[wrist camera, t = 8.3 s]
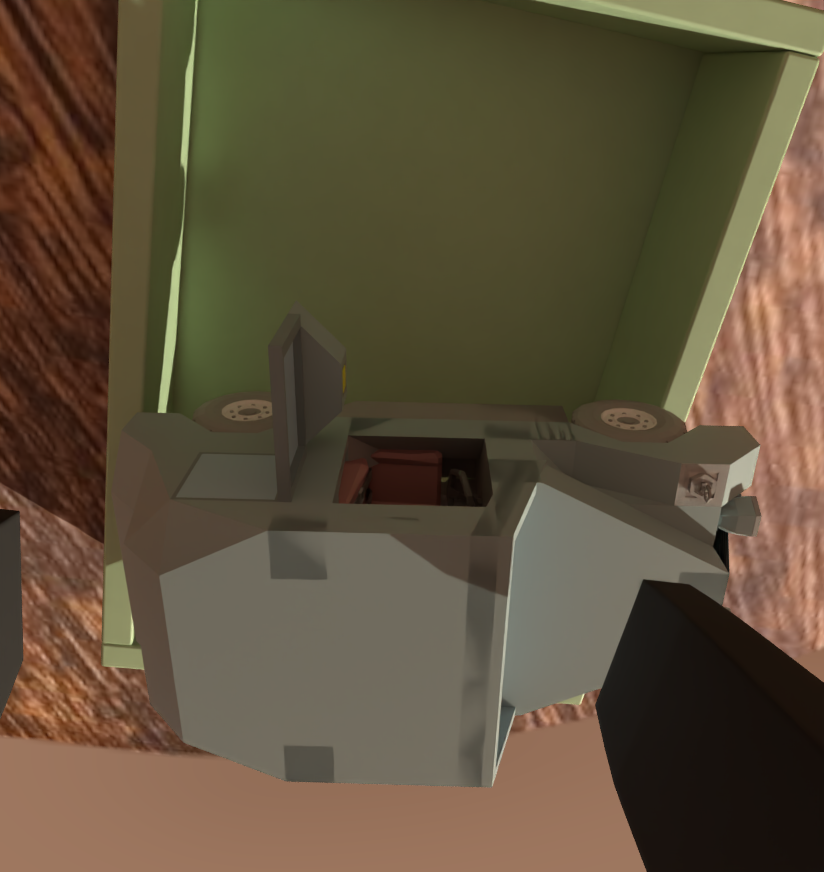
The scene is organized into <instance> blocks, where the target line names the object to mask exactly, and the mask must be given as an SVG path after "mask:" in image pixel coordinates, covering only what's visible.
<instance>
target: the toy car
mask: <svg viewBox="0 0 824 872" xmlns="http://www.w3.org/2000/svg"><path fill="white" fill-rule="evenodd" d="M268 356H269V371H270V387H271V392H263V391H253V392H238V393H233V394H228V395H223V396H220V397H217V398H215V399H212V400H210V401H207V402H205V403H203V404H202V405H201V406H200V407H198V409H196V410H195V411H194V413H193V418H192V420H191V419H189V418H187V417H185V416H184V415H182V414H180V413H146V412H137V413H136V414H135V415H134V416H133V418H132V419H131V420H130V421H129V422H128V423H127V424H126V425H125V427H124V428H123V429H122V430H121V436H120V442H119V448H118V454H117V460H116V466H115V471H114V477H113V483H112V489H111V494H112V500H113V506H114V512H115V518H116V524H117V530H118V536H119V542H120V548H121V554H122V560H123V566H124V572H125V578H126V584H127V589H128V595H129V601H130V607H131V613H132V619H133V625H134V631H135V637H136V641H137V642H138V643H139V644H140V645H141V651H142V657H143V663H144V669H145V675H146V681H147V687H148V694H149V700H150V704H151V706H152V707H153V708H154V709H155V710H156V711H157V713H158V714H159V715H160V716H161V717H162V718H163V719H164V721H165V722H166V723H167V724H168V725H169V726H170V727H171V729H172V730H173V731H174V732H175V733H176V734H177V735H178V737H179V738H180V739H181V740H182V741H183V742H184V743H187V744H189V745H192V746H194V747H197V748H200V749H202V750H205V751H208V752H210V753H213V754H215V755H218V756H221V757H223V758H226V759H229V760H231V761H234V762H237V763H239V764H242V765H244V766H247V767H250V768H252V769H255V770H257V771H260V772H263V773H265V774H268V775H271V776H273V777H276V778H278V779H281V780H284V781H291V782H325V783H360V784H392V785H393V784H394V785H427V786H429V785H430V786H461V787H492V785H493V782H494V779H495V775H496V773H497V770H498V766H499V763H500V760H501V757H502V754H503V751H504V747H505V745H506V741H507V738H508V735H509V732H510V729H511V726H512V723H513V719H514V716H515V715H522V714H525V713H528V712H531V711H534V710H537V709H540V708H543V707H546V706H549V705H552V704H555V703H558V702H561V701H564V700H567V699H570V698H573V697H576V696H579V695H582V694H585V693H588V692H591V691H594V690H597V689H600V688H602V686H603V683H604V681H605V678H606V676H607V673H608V670H609V668H610V665H611V662H612V660H613V657H614V655H615V652H616V649H617V647H618V644H619V641H620V639H621V636H622V634H623V631H624V628H625V626H626V623H627V620H628V618H629V615H630V613H631V610H632V607H633V605H634V602H635V599H636V597H637V594H638V592H639V589H640V586H641V584H642V581H643V579H646V580H655V581H664V582H673V583H682V584H690V585H691V586H693V587H695V588H696V589H698V590H699V591H701V592H703V593H704V594H706V595H707V596H709V597H710V598H712V599H713V600H714V601H716V602H717V603H719V604H720V605H722V604H723V599H724V595H725V590H726V586H727V582H728V577H729V547H728V533H732V534H737V535H742V536H756V537H757V533H758V529H759V525H760V521H761V513H760V509H759V505H758V502H757V498H756V496H743V497H741V494H740V493H741V492H743V491H744V490H746V489H747V488H748V487H750V486H751V484H752V480H753V475H754V471H755V466H756V462H757V458H758V453H759V449H760V444H759V443H758V442H757V441H756V440H755V439H754V438H753V436H752V435H751V434H750V433H749V432H748V431H747V430H746V429H745V428H744V427H743V426H704V425H700V426H698V427H696V428H694V429H692V430H691V431H689V432H687V430H686V426H685V422H683V421H682V420H681V419H680V418H679V417H677V416H676V415H675V414H673V413H672V412H669V411H667V410H665V409H662V408H660V407H658V406H655V405H651V404H647V403H643V402H638V401H630V400H619V399H615V400H599V401H595V402H591V403H587V404H584V405H581V406H580V407H578V408H577V409H576V410H574V411H573V412H572V420H571V423H569V421H568V419H567V416H566V414H565V411H564V409H563V407H562V406H550V405H507V404H463V403H420V402H376V401H355V402H352V403H348V404H345V405H344V403H345V399H346V395H347V361H346V348H345V347H344V346H343V345H342V344H341V343H340V342H339V341H338V340H337V339H336V338H335V337H334V336H333V335H332V334H331V333H330V332H329V331H328V330H327V329H326V328H325V327H324V326H323V325H322V324H320V323H319V322H318V321H317V320H316V319H315V318H314V317H313V316H312V315H311V314H310V313H309V312H308V311H307V310H306V309H305V308H304V307H303V306H302V305H301V304H300V303H299V302H298V301H297V300H296V301H295V303H294V304H293V306H292V308H291V309H290V311H289V313H288V314H287V316H286V317H285V319H284V321H283V322H282V324H281V326H280V327H279V329H278V330H277V332H276V334H275V335H274V337H273V339H272V340H271V342H270V343H269V345H268ZM441 478H448V479H447V481H446V482H442V481H441ZM468 478H476V479H468ZM724 608H726V607H724ZM726 609H727V610H729V611H730V612H731V610H730V609H729V608H726Z"/></svg>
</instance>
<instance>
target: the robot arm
mask: <svg viewBox="0 0 824 872" xmlns="http://www.w3.org/2000/svg"><path fill="white" fill-rule="evenodd" d="M22 661H23V629H22V590H21V551H20V512H19V511H14V510H5V509H0V718H1V715H2V713H3V710H4V708H5V706H6V703H7V700H8V698H9V695H10V693H11V690H12V687H13V685H14V682H15V680H16V677H17V674H18V672H19V669H20V667H21V664H22ZM595 706H596V711H597V715H598V720H599V724H600V729H601V733H602V737H603V742H604V747H605V751H606V754H607V759H608V763H609V766H610V770H611V774H612V778H613V782H614V785H615V788H616V791H617V794H618V796H619V799H620V802H621V805H622V808H623V810H624V813H625V816H626V818H627V821H628V823H629V826H630V829H631V831H632V834H633V837H634V839H635V842H636V845H637V847H638V850H639V853H640V855H641V858H642V860H643V863H644V866H645V868H646V871H647V872H824V682H822V681H821V680H819V679H818V678H817V677H816V676H814V675H813V674H812V673H810V672H809V671H808V670H807V669H805V668H804V667H803V666H801V665H800V664H799V663H797V662H796V661H795V660H793V659H792V658H791V657H790V656H788V655H787V654H786V653H784V652H783V651H782V650H780V649H779V648H778V647H776V646H775V645H774V644H773V643H771V642H770V641H769V640H767V639H766V638H765V637H763V636H762V635H761V634H759V633H758V632H757V631H755V630H754V629H753V628H751V627H750V626H749V625H748V624H746V623H745V622H743V621H742V620H741V619H739V618H738V617H737V616H735V615H734V614H733V613H731V612H730V611H729V610H727V609H726V608H724V607H723V606H722V605H720V604H719V603H717V602H716V601H714V600H713V599H712V598H710V597H709V596H707V595H706V594H704V593H703V592H701V591H699V590H698V589H696V588H695V587H693V586H691V585H690V584H682V583H673V582H664V581H655V580H646V579H643V581H642V584H641V586H640V589H639V592H638V594H637V597H636V599H635V602H634V605H633V607H632V610H631V613H630V615H629V618H628V620H627V623H626V626H625V628H624V631H623V634H622V636H621V639H620V641H619V644H618V647H617V649H616V652H615V655H614V657H613V660H612V662H611V665H610V668H609V670H608V673H607V676H606V678H605V681H604V683H603V686H602V689H601V691H600V694H599V697H598V699H597V702H596V704H595Z"/></svg>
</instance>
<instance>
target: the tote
mask: <svg viewBox="0 0 824 872" xmlns="http://www.w3.org/2000/svg"><path fill="white" fill-rule="evenodd" d="M823 51H824V10H820V9H816V8H812V7H808V6H803V5H799V4H795V3H791V2H787V1H783V0H119V1H118V39H117V76H116V114H115V152H114V190H113V228H112V266H111V303H110V341H109V379H108V417H107V455H106V493H105V530H104V568H103V606H102V647H101V664H102V666H108V667H120V668H132V669H144V663H143V657H142V651H141V645H140V644H139V643H138V642H137V641H136V637H135V631H134V625H133V619H132V613H131V607H130V601H129V595H128V589H127V584H126V578H125V572H124V566H123V560H122V554H121V548H120V542H119V536H118V530H117V524H116V518H115V512H114V506H113V500H112V494H111V489H112V483H113V477H114V471H115V466H116V460H117V454H118V448H119V442H120V436H121V430H122V429H123V428H124V427H125V425H126V424H127V423H128V422H129V421H130V420H131V419H132V418H133V416H134V415H135V414H136V413H137V412H146V413H180V414H182V415H184V416H185V417H187V418H189V419H191V420H192V418H193V413H194V411H195V410H196V409H198V407H200V406H201V405H202V404H203V403H205V402H207V401H210V400H212V399H215V398H217V397H220V396H223V395H228V394H233V393H238V392H253V391H263V392H271V387H270V371H269V356H268V345H269V343H270V342H271V340H272V339H273V337H274V335H275V334H276V332H277V330H278V329H279V327H280V326H281V324H282V322H283V321H284V319H285V317H286V316H287V314H288V313H289V311H290V309H291V308H292V306H293V304H294V303H295V301H296V300H297V301H298V302H299V303H300V304H301V305H302V306H303V307H304V308H305V309H306V310H307V311H308V312H309V313H310V314H311V315H312V316H313V317H314V318H315V319H316V320H317V321H318V322H319V323H320V324H322V325H323V326H324V327H325V328H326V329H327V330H328V331H329V332H330V333H331V334H332V335H333V336H334V337H335V338H336V339H337V340H338V341H339V342H340V343H341V344H342V345H343V346H344V347H345V348H346V361H347V395H346V399H345V403H344V405H345V404H348V403H352V402H355V401H376V402H420V403H463V404H507V405H550V406H562V407H563V409H564V411H565V414H566V416H567V419H568V421H569V423H571V420H572V412H573V411H574V410H576V409H577V408H578V407H580V406H581V405H584V404H587V403H591V402H595V401H599V400H615V399H619V400H630V401H638V402H643V403H647V404H651V405H655V406H658V407H660V408H662V409H665V410H667V411H669V412H672V413H673V414H675V415H676V416H677V417H679V418H680V419H681V420H682V421H683V422H686V419H687V417H688V414H689V411H690V409H691V406H692V403H693V401H694V398H695V395H696V393H697V390H698V387H699V384H700V382H701V379H702V376H703V374H704V371H705V368H706V366H707V363H708V360H709V358H710V355H711V352H712V350H713V347H714V344H715V341H716V339H717V336H718V333H719V331H720V328H721V325H722V323H723V320H724V317H725V315H726V312H727V309H728V307H729V304H730V301H731V298H732V296H733V293H734V290H735V288H736V285H737V282H738V280H739V277H740V274H741V272H742V269H743V266H744V264H745V261H746V258H747V255H748V253H749V250H750V247H751V245H752V242H753V239H754V237H755V234H756V231H757V229H758V226H759V223H760V221H761V218H762V215H763V213H764V210H765V207H766V204H767V202H768V199H769V196H770V194H771V191H772V188H773V186H774V183H775V180H776V178H777V175H778V172H779V170H780V167H781V164H782V161H783V159H784V156H785V153H786V151H787V148H788V145H789V143H790V140H791V137H792V135H793V132H794V129H795V127H796V124H797V121H798V118H799V116H800V113H801V110H802V108H803V105H804V102H805V100H806V97H807V94H808V92H809V89H810V86H811V84H812V81H813V78H814V75H815V73H816V70H817V67H818V65H819V59H818V58H817V57H818V56H821V55H822V53H823ZM447 479H448V478H441V481H442V482H446V481H447ZM468 479H476V478H468ZM583 696H584V694H582V695H579V696H576V697H573V698H570V699H567V700H564V701H561V702H558V703H564V704H576V705H579V704H581V702H582V699H583Z"/></svg>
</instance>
